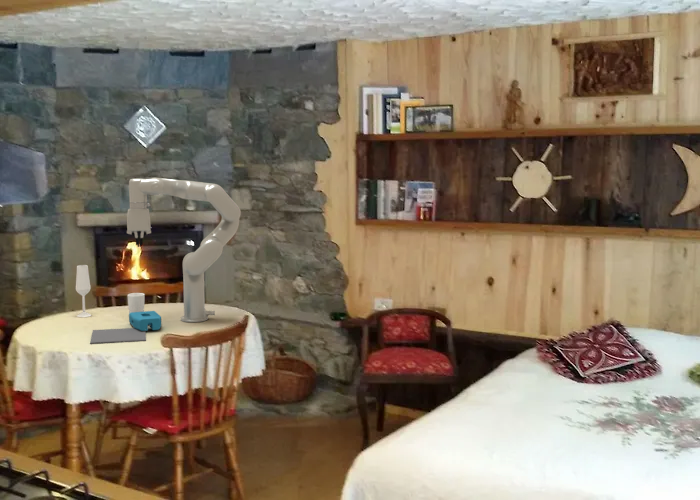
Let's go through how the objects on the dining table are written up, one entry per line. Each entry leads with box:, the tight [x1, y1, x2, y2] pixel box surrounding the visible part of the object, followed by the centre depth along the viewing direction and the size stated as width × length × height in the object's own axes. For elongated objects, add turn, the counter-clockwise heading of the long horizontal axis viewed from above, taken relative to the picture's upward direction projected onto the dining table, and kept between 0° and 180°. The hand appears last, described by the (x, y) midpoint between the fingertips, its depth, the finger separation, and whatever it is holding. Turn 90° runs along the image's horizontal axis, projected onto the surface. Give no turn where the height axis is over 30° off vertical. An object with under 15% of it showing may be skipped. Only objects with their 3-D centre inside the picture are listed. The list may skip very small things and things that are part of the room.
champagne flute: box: [75, 264, 92, 318], centre depth 360 cm, size 7×7×24 cm
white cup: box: [127, 292, 146, 314], centre depth 363 cm, size 8×8×10 cm
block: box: [128, 310, 162, 332], centre depth 339 cm, size 12×5×20 cm
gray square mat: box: [89, 327, 147, 345], centre depth 324 cm, size 22×22×1 cm
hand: (139, 246), depth 344 cm, fingers closed
